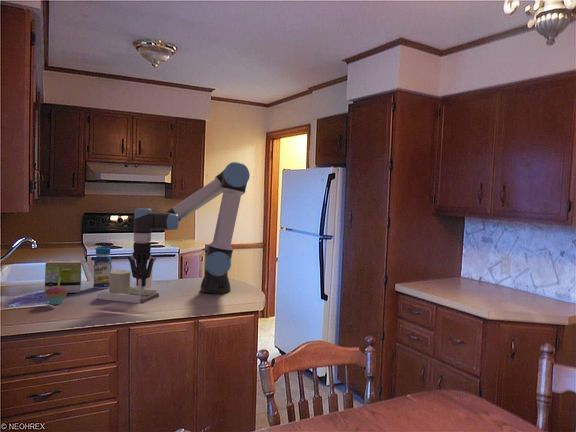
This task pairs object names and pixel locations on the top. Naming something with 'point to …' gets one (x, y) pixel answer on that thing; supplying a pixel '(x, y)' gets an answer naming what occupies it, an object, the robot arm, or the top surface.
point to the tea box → (63, 274)
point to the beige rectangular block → (120, 282)
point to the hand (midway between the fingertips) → (140, 293)
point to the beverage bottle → (102, 268)
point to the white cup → (148, 282)
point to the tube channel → (125, 295)
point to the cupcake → (56, 294)
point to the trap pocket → (149, 297)
